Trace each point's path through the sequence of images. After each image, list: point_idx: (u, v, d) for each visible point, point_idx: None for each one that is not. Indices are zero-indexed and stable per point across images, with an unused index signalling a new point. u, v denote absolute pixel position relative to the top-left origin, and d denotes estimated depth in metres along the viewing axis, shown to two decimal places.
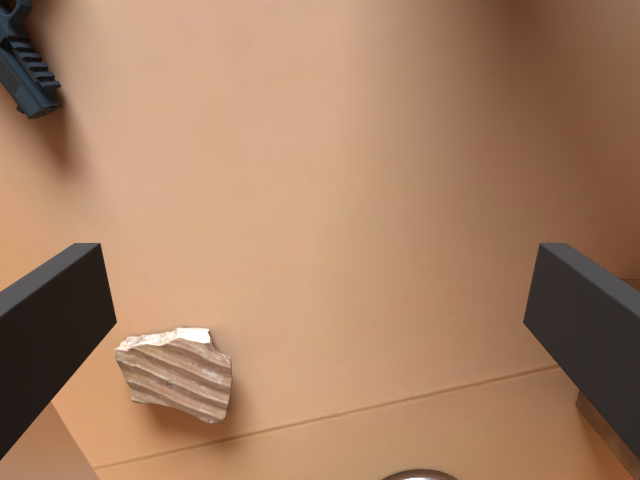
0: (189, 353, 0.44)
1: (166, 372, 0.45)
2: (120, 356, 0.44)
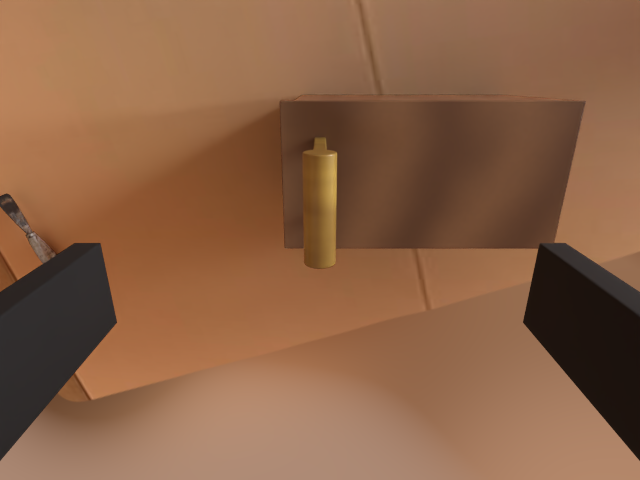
0: None
1: None
2: None
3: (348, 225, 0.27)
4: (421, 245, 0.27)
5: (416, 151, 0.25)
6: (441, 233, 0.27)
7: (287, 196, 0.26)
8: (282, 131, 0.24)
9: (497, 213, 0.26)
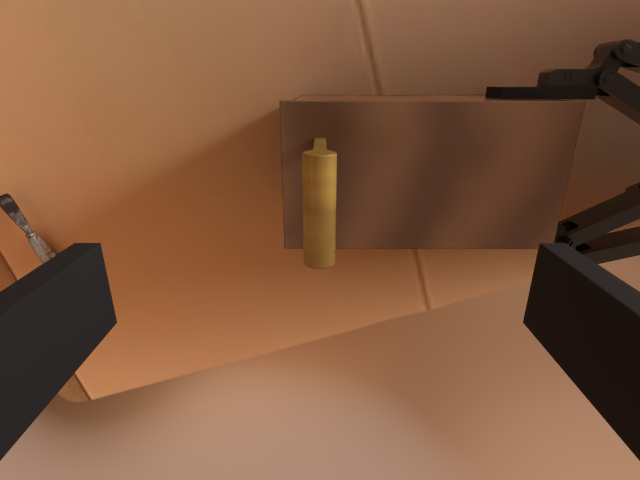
0: None
1: None
2: None
3: (348, 225, 0.27)
4: (421, 245, 0.27)
5: (416, 151, 0.25)
6: (441, 233, 0.27)
7: (287, 196, 0.26)
8: (282, 131, 0.25)
9: (497, 213, 0.26)
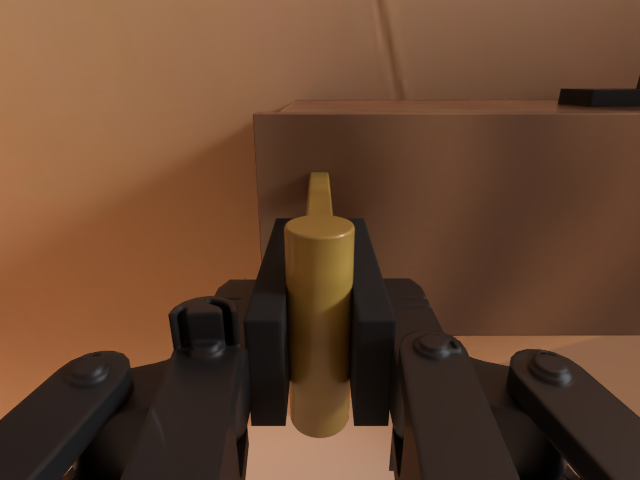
0: None
1: None
2: None
3: None
4: (474, 331, 0.18)
5: (474, 193, 0.16)
6: (505, 314, 0.17)
7: None
8: (258, 162, 0.15)
9: (594, 285, 0.17)
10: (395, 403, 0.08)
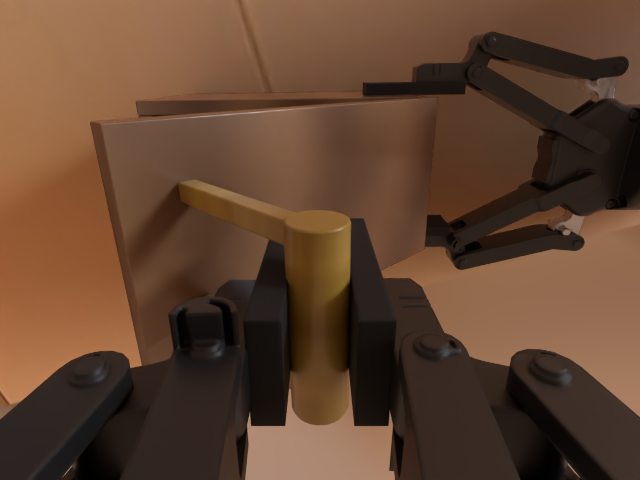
0: None
1: None
2: None
3: None
4: None
5: (314, 176, 0.18)
6: None
7: (145, 296, 0.14)
8: (115, 182, 0.12)
9: (387, 229, 0.23)
10: (395, 403, 0.08)
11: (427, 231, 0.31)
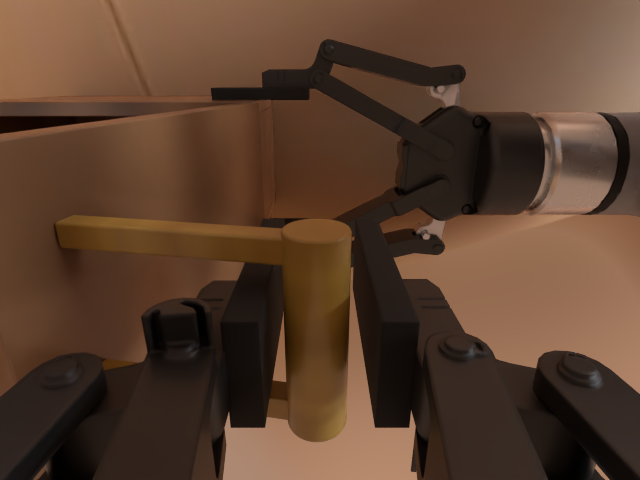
0: None
1: None
2: None
3: (141, 357, 0.14)
4: None
5: (183, 192, 0.16)
6: None
7: None
8: None
9: None
10: (419, 404, 0.08)
11: None
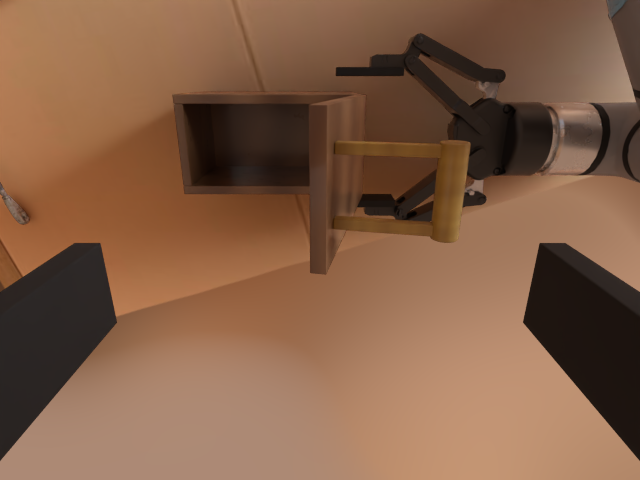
0: None
1: None
2: None
3: None
4: None
5: None
6: (351, 206, 0.33)
7: (327, 214, 0.23)
8: (327, 140, 0.21)
9: (357, 180, 0.35)
10: None
11: (379, 204, 0.44)
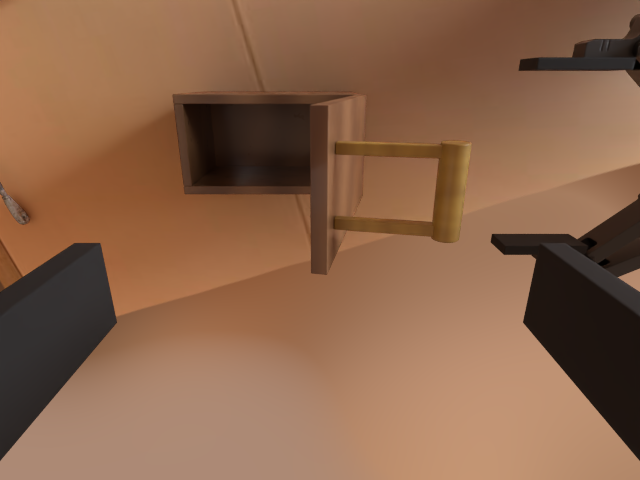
0: None
1: None
2: None
3: None
4: None
5: None
6: (352, 207, 0.33)
7: (328, 214, 0.23)
8: (328, 140, 0.21)
9: (358, 180, 0.35)
10: None
11: None
